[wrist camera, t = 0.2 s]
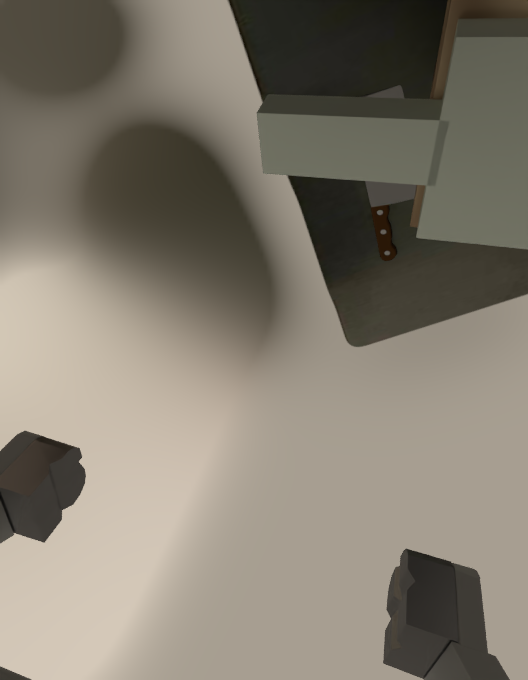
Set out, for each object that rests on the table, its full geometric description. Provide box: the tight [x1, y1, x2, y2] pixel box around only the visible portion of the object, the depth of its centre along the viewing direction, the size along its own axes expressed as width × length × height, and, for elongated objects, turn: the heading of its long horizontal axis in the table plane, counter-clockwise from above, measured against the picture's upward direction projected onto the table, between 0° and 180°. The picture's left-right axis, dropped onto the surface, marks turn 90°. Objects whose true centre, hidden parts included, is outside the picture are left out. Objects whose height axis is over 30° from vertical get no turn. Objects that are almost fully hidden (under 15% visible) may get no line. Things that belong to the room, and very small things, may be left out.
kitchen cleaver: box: [361, 85, 416, 261], centre depth 60 cm, size 24×1×10 cm
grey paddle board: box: [257, 18, 528, 249], centre depth 27 cm, size 22×12×2 cm, turn 96°
